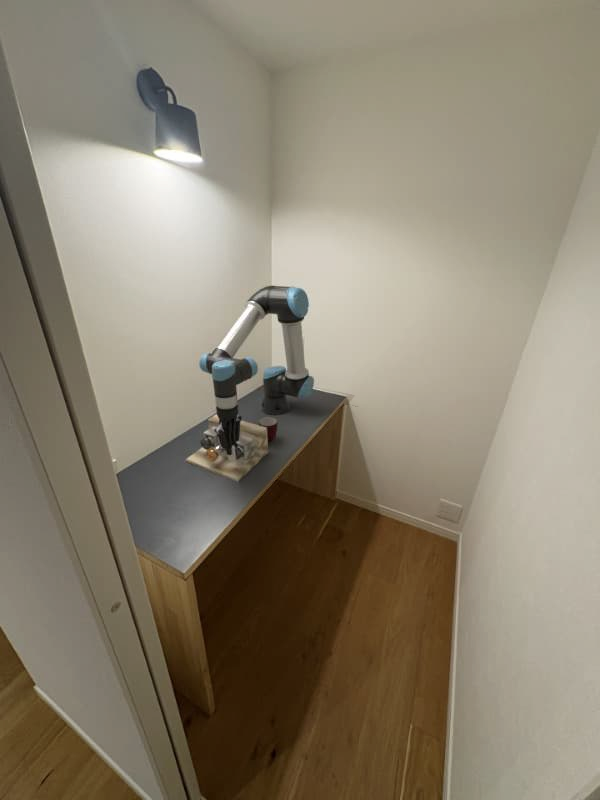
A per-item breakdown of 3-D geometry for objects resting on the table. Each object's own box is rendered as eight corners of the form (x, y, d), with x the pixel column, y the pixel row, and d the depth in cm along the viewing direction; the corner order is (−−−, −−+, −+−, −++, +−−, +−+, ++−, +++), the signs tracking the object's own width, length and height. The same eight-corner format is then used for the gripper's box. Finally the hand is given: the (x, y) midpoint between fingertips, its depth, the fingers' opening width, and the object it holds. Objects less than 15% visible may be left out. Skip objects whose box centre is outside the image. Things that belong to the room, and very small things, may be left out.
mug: (267, 450, 135) (266, 430, 131) (252, 444, 139) (251, 425, 134) (281, 438, 143) (280, 419, 139) (266, 434, 147) (265, 415, 142)
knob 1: (215, 437, 136) (213, 428, 134) (223, 440, 134) (222, 431, 132) (201, 447, 129) (199, 438, 127) (210, 451, 127) (208, 441, 125)
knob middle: (221, 448, 129) (219, 438, 127) (230, 451, 127) (229, 441, 125) (206, 459, 122) (205, 449, 120) (216, 463, 120) (214, 452, 118)
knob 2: (243, 446, 130) (242, 436, 128) (253, 449, 128) (252, 439, 126) (230, 457, 123) (229, 447, 121) (240, 461, 121) (239, 451, 119)
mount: (220, 436, 144) (217, 413, 139) (268, 452, 134) (266, 427, 128) (186, 461, 127) (181, 436, 122) (237, 481, 117) (235, 454, 112)
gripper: (229, 396, 117) (234, 449, 127) (205, 409, 107) (213, 466, 117) (246, 400, 114) (250, 454, 124) (223, 414, 104) (229, 472, 114)
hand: (232, 460), depth 120 cm, fingers closed
